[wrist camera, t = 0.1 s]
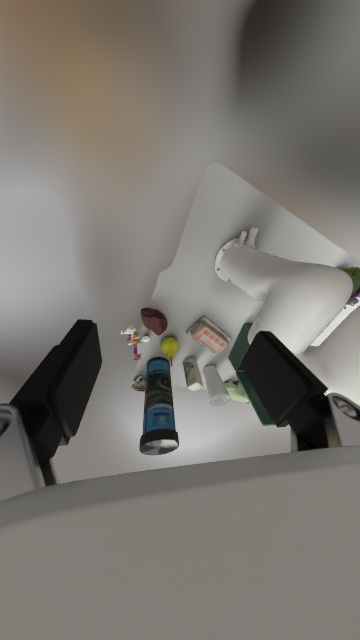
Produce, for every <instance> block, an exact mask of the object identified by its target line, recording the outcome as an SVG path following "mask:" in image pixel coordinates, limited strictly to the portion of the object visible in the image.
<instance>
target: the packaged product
mask: <svg viewBox="0 0 360 640" xmlns="http://www.w3.org/2000/svg"><path fill="white" fill-rule="evenodd" d="M186 333H187V335H189V336H190V337H191V338H193V339H194V340H196V341H197V342H199V343H200V344H201V345H203V346H204V347H206V348H207V349H208V350H210V351H211V352H213V353H214V354H215V353H218V354H219V353H222V352H223V351H224V349H225V348H226V347H227V346H228V345H229V342H230V340H232V339H231V338H230V337H229V336H228V335H227V334H225V333H224V332H223V331H222V330H220V329H219V328H218V327H217V326H216V325H215V324H213V323H212V322H211V321H210V320H209V319H207V318H206V317H205V316H203V317H202V318H201V319H200V320H199V321H198V322H197V323H195V324H194V325H193V326H192V327H191V328H190V329H189V330H188V331H187V332H186Z"/></svg>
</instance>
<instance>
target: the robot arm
mask: <svg viewBox="0 0 360 640" xmlns="http://www.w3.org/2000/svg"><path fill="white" fill-rule="evenodd" d="M258 230H259V229H257V228H251V230H250V233H249V237H248V240H245V237H246V235H247V232H244V231H242V233H241V237H240V239H233V240H230V241H228V242H227V243H225V244H224V245H223V246H222V247H221V248H220V250H219V251H218V253H217V255H216V258H215V263H214V267H215V272H216V274H217V275H218V277H219V278H220V279H222V280H223V281H226V282H233V283H234V284H236V285H237V286H238V287H239V288H240V289H242V290H243V291H244V292H245V293H246V294H248V295H249V296H250V297H252V298H253V299H256V300H260V301H265V302H264V304H263V306H262V309H261V310H260V312H259V314H258V316H257V317H256V319H255V321H254V323H253V324H252V326H251V328H250V330H249V333H248V342H249V344H250V346H249V348H248V350H247V352H246V354H245V355H244V357H243V359H242V361H241V367H242V369H243V371H244V373H245V375H246V376H247V378H248V380H249V382H250V383H251V385H252V387H253V389H254V390H255V392H256V394H257V396H258V397H259V399H260V401H261V403H262V404H263V406H264V408H265V410H266V411H267V413H268V415H269V417H270V418H271V419H272V420H273V421H274V422H275V424H276V426H277V427H286V426H287V425H288V424H289V425H290V427H291V452H290V453H281V454H273V455H265V456H257V457H249V458H241V459H233V460H225V461H217V462H209V463H201V464H193V465H185V466H178V467H170V468H162V469H155V470H147V471H140V472H132V473H125V474H118V475H111V476H105V477H99V478H92V479H85V480H78V481H72V482H67V483H62V484H60V482H59V479H58V476H57V473H56V470H55V467H54V464H53V461H52V457H53V456H54V455H55V452H56V450H57V448H58V446H61V445H68V443H69V440H70V438H71V437H73V436H75V435H76V433H77V430H78V428H79V425H80V422H81V419H82V417H83V414H84V411H85V409H86V406H87V403H88V400H89V398H90V395H91V392H92V389H93V387H94V384H95V381H96V379H97V376H98V373H99V370H100V368H101V364H102V358H101V350H100V344H99V337H98V331H97V325H96V323H93V322H92V321H91V320H81V319H79V320H77V322H76V323H75V324H74V326H73V327H72V328H71V329H70V331H69V332H68V333H67V335H66V336H65V337H64V339H63V340H62V341H61V343H60V344H59V345H56V346H54V347H53V348H52V350H51V351H50V352H49V353H48V355H47V356H46V357H45V358H44V360H43V361H42V362H41V363H40V365H39V366H38V367H37V369H36V370H35V371H34V373H33V374H32V375H31V376H30V378H29V379H28V380H27V381H26V382H25V384H24V385H23V386H22V388H21V389H20V390H19V391H18V393H17V394H16V395H15V397H14V398H13V399H12V400H11V402H10V403H9V404H3V403H2V404H0V640H360V407H359V406H358V405H357V404H360V306H358V307H357V308H356V309H355V310H354V311H353V312H351V313H350V314H349V315H348V316H347V317H346V318H345V319H344V320H343V321H342V322H341V323H340V324H339V326H338V327H337V328H336V329H335V330H334V331H333V332H332V333H331V334H330V335H329V336H328V337H327V338H326V339H325V340H324V341H323V343H322V344H321V345H319V346H310V345H311V344H312V343H313V341H314V340H315V339H316V338H317V337H318V336H319V335H320V334H321V333H322V332H323V331H324V330H325V329H326V327H327V326H328V325H329V324H330V323H331V322H332V321H333V320H334V318H335V317H336V316H337V315H338V314H339V313H340V312H341V310H342V309H343V308H344V306H345V305H346V303H347V302H348V300H349V298H350V296H351V294H352V291H353V282H352V279H351V277H350V276H349V275H348V274H347V273H345V272H344V271H342V270H340V269H337V268H334V267H331V266H327V265H321V264H313V263H303V262H296V261H291V260H287V259H283V258H280V257H277V256H273V255H270V254H267V253H264V252H261V251H258V250H256V247H254V243H255V242H254V240H255V237H256V235H257V233H258ZM223 249H224V250H223ZM217 268H218V269H217ZM228 279H229V280H228ZM325 392H326V393H328V395H327V396H325V395H324V393H325Z"/></svg>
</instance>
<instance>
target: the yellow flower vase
mask: <svg viewBox="0 0 360 640" xmlns="http://www.w3.org/2000/svg"><path fill="white" fill-rule="evenodd" d="M161 350H162V352H163V353H164V354H166V355H167V356H168V357H169V358H171V364H172V358H173V357H174V354H176V353H177V351H178V350H179V343H178V341H177V340H176V339H174V338H171V337H168V338H165V339H164V340H163V341H162V344H161Z"/></svg>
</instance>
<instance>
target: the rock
mask: <svg viewBox="0 0 360 640" xmlns="http://www.w3.org/2000/svg"><path fill="white" fill-rule="evenodd" d="M141 316H142V322H143V324H144V325H145V327H147V328H148V329H149V330H152V331H153V332H154V333H155V334H157V335H158V336H159V335H161V334H162V333H164V331H165V330H166V329H167V320H166V318H165V317H164V315H163V314H162V313H160V312H159V311H157V310H156V311H155V310H154V311H153V310H151V309H149V308H143V309H141Z"/></svg>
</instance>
